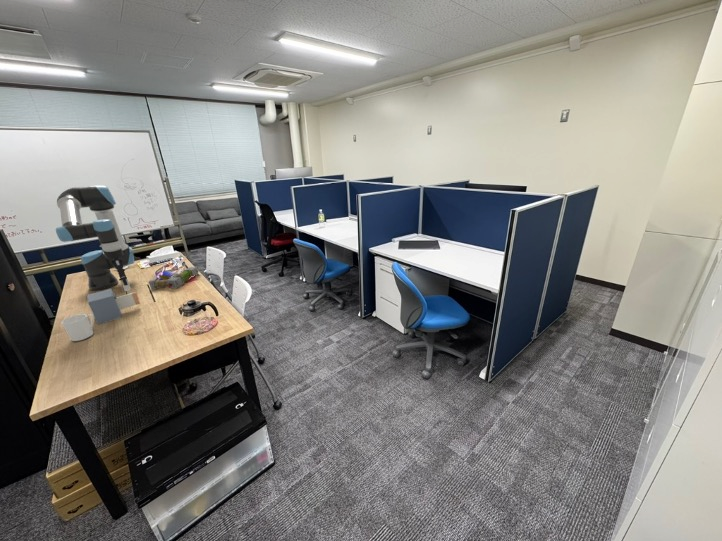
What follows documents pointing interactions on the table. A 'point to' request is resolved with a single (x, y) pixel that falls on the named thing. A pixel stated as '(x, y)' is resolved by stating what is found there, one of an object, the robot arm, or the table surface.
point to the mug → (78, 327)
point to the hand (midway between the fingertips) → (126, 286)
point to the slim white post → (127, 300)
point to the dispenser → (104, 306)
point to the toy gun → (173, 279)
